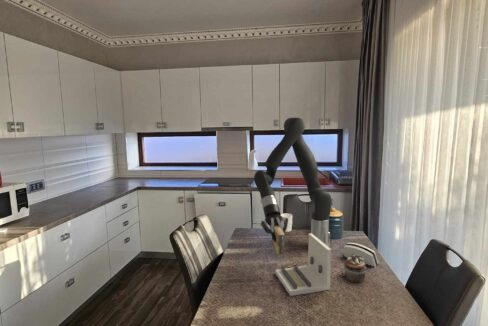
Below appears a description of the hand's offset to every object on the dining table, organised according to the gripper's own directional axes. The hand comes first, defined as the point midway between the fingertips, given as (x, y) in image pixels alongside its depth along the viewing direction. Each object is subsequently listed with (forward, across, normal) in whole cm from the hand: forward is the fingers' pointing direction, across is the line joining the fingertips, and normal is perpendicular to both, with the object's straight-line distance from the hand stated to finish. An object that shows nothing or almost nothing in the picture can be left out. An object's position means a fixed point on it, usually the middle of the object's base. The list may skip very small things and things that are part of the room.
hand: (279, 240), depth 133 cm
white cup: (-25, +23, +50) cm, 60 cm away
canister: (-13, +47, +39) cm, 63 cm away
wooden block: (+2, 0, +5) cm, 6 cm away
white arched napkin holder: (+10, +44, +16) cm, 48 cm away
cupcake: (+19, +33, +7) cm, 39 cm away
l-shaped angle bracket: (+17, +8, +8) cm, 20 cm away
